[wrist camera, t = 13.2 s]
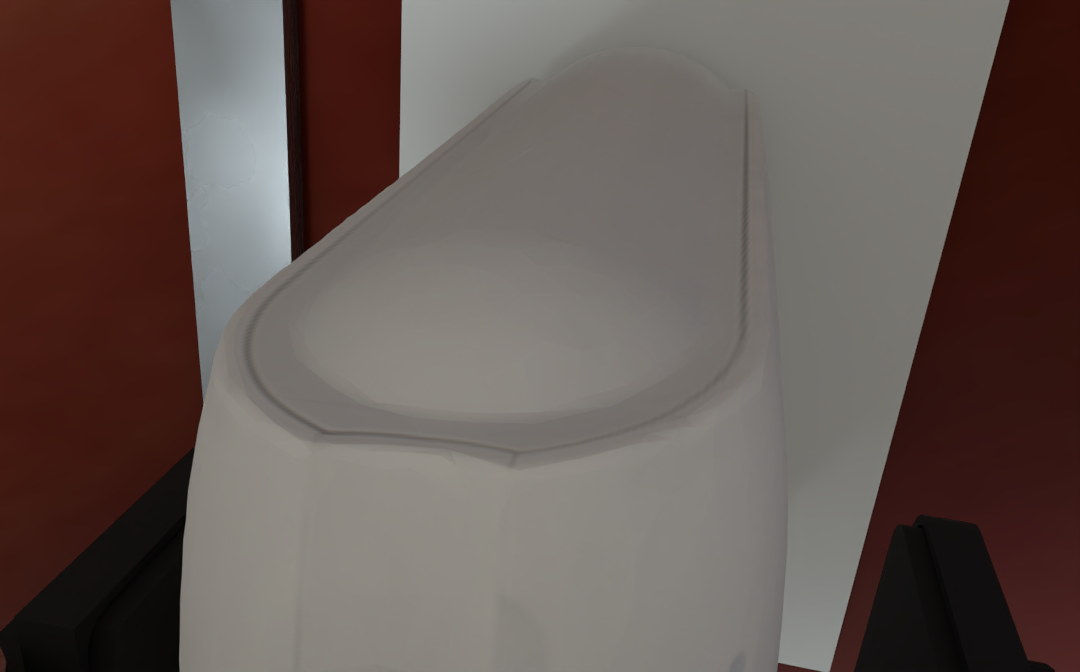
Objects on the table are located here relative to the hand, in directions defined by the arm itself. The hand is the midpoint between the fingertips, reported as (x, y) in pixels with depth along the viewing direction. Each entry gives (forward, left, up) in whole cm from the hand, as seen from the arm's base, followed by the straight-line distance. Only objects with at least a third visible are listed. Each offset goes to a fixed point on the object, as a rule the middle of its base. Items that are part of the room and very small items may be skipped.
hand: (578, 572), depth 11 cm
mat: (0, 0, -7) cm, 7 cm away
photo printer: (0, 0, -7) cm, 7 cm away
